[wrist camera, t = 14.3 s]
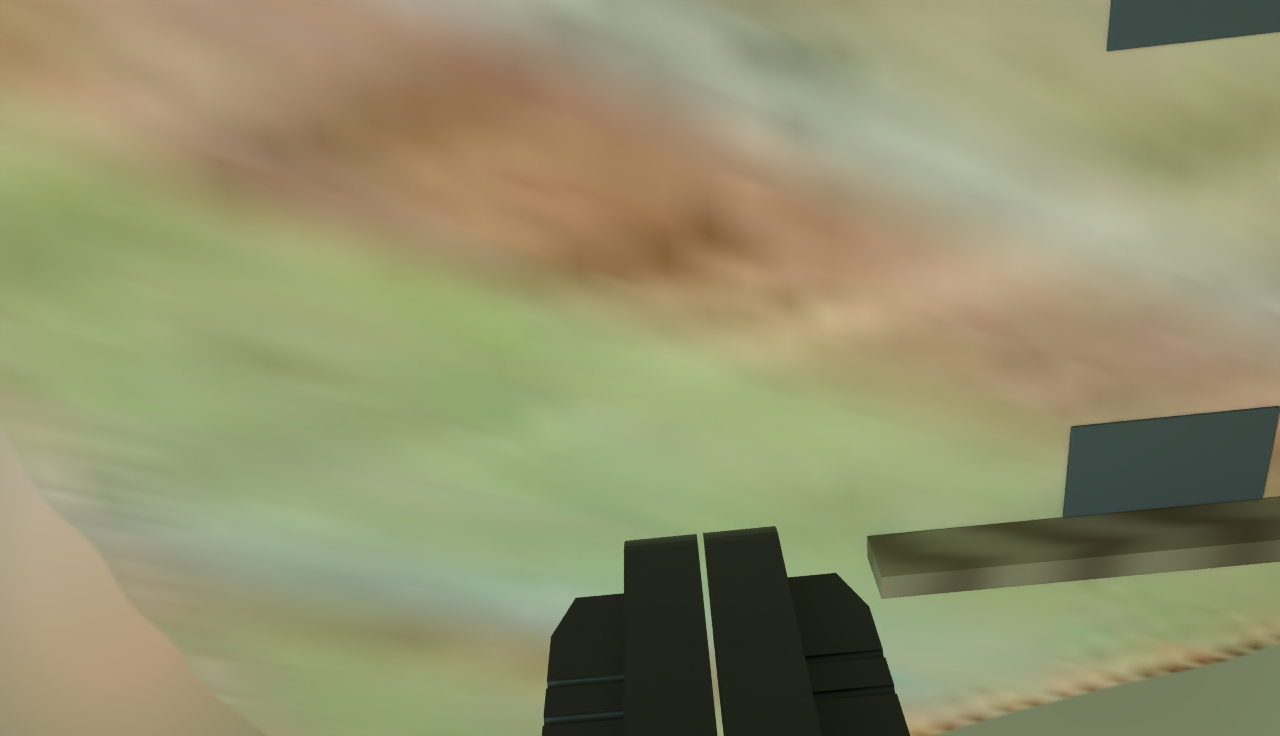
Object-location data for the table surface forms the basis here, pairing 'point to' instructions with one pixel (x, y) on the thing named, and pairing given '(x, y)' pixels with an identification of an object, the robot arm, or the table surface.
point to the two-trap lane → (1124, 445)
